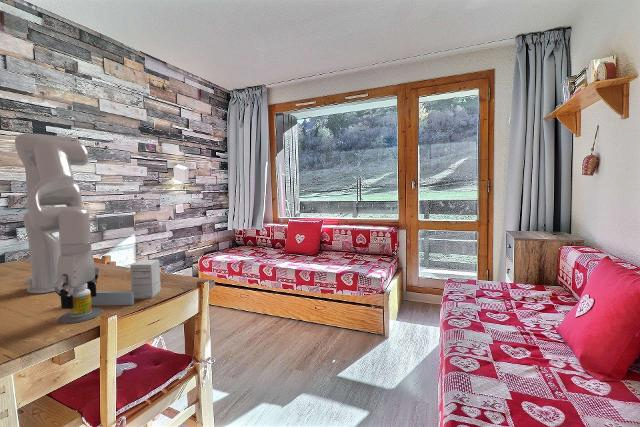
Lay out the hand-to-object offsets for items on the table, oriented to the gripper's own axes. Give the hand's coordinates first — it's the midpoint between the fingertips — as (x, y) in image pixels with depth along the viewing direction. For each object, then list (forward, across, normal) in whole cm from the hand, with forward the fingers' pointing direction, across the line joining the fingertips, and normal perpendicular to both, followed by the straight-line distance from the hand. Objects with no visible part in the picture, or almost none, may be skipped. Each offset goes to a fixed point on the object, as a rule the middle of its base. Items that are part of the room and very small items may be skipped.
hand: (80, 302), depth 96 cm
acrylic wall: (+4, -9, 0) cm, 10 cm away
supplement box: (+5, -18, +11) cm, 22 cm away
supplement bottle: (+4, 0, 0) cm, 4 cm away
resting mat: (+4, 0, 0) cm, 4 cm away
